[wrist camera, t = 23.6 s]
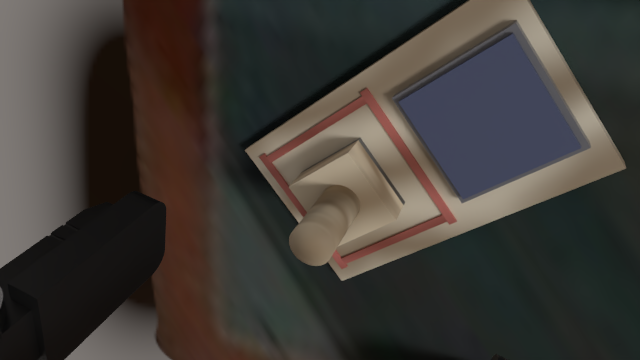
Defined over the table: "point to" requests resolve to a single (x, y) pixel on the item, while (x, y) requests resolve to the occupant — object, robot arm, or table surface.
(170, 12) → the table surface
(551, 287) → the table surface
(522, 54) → the ink pad
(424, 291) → the table surface
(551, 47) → the stamping board
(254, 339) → the table surface
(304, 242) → the stamp
